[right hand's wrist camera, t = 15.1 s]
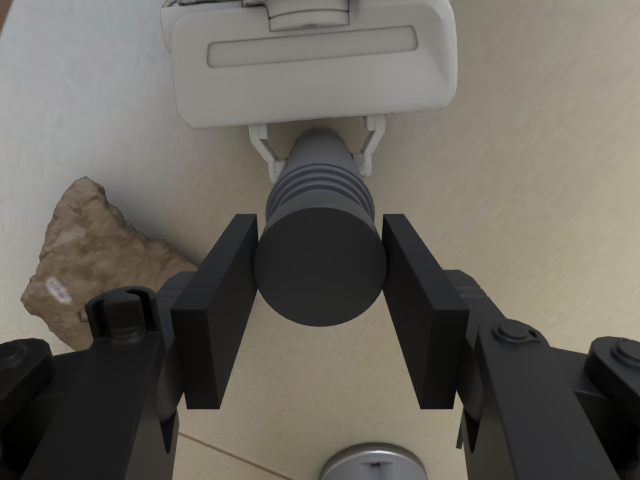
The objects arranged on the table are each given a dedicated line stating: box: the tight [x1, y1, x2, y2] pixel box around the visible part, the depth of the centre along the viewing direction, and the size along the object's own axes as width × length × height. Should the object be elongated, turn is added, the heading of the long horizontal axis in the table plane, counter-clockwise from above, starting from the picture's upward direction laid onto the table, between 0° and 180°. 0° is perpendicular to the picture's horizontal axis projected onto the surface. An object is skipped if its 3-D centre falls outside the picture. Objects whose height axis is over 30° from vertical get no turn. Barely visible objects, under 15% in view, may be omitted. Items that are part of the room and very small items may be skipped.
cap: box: [254, 192, 387, 327], centre depth 13 cm, size 4×4×2 cm
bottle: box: [266, 127, 375, 224], centre depth 24 cm, size 5×5×25 cm
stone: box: [21, 176, 200, 351], centre depth 38 cm, size 21×15×6 cm
